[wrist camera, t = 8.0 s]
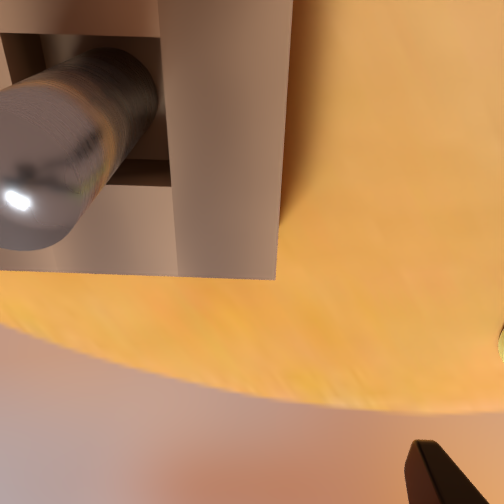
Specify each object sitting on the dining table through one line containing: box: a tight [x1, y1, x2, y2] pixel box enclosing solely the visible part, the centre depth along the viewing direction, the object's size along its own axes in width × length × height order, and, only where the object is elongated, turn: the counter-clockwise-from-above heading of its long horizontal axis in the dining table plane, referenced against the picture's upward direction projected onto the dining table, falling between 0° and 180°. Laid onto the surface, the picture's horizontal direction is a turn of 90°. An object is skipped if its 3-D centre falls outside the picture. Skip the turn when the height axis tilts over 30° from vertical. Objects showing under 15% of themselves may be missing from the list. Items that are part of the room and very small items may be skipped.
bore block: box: [0, 0, 293, 280], centre depth 16 cm, size 12×12×4 cm
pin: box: [0, 47, 158, 251], centre depth 13 cm, size 3×3×8 cm
